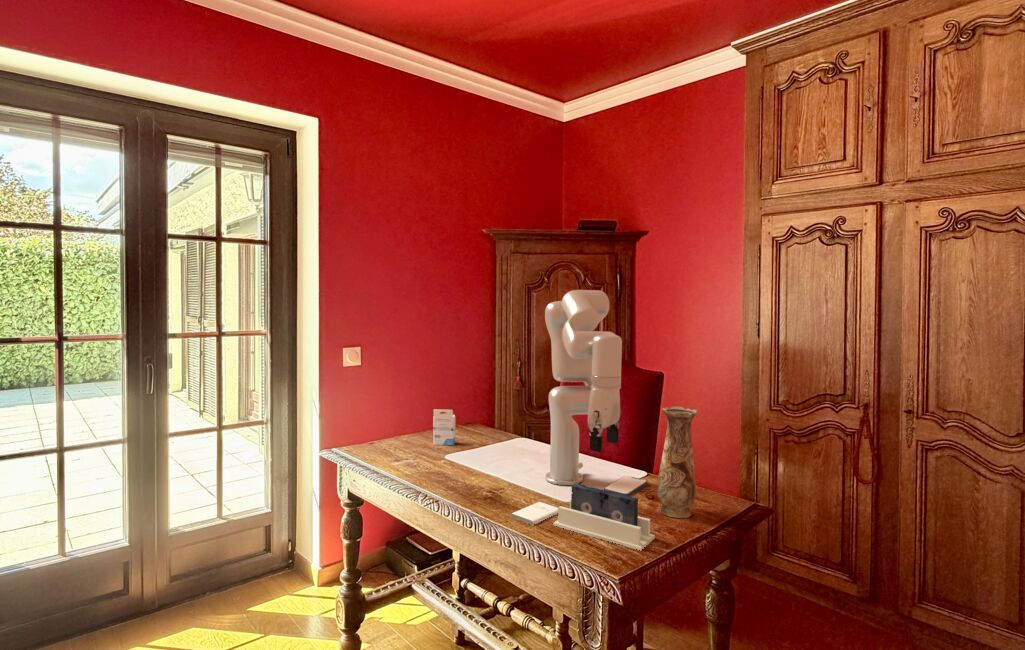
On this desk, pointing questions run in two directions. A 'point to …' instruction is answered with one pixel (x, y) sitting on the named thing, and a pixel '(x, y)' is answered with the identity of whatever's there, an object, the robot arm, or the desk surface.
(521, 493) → the desk surface
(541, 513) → the external hard drive
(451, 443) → the ink box
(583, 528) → the rack
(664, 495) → the vase
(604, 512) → the vhs cassette tape
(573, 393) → the robot arm
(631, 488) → the phone case
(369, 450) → the desk surface
